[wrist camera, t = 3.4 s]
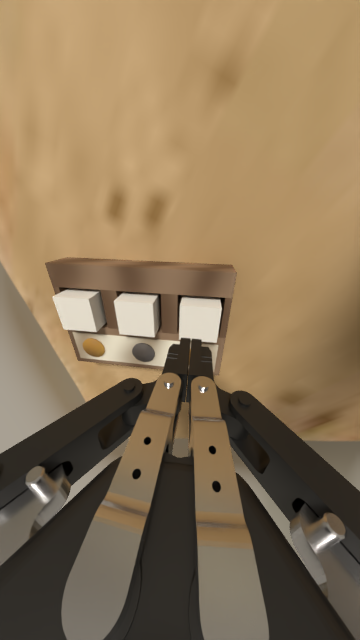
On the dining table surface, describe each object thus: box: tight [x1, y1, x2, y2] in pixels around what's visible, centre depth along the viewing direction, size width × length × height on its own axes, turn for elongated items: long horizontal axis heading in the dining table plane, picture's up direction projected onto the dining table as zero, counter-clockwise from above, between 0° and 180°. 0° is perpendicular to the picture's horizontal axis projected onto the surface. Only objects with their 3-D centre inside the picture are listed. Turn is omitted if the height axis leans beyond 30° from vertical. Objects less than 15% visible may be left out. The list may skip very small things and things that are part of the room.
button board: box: [45, 258, 237, 375], centre depth 20 cm, size 18×12×3 cm
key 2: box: [179, 295, 222, 343], centre depth 17 cm, size 4×4×2 cm
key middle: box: [114, 291, 160, 337], centre depth 18 cm, size 4×4×2 cm
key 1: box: [52, 288, 107, 332], centre depth 18 cm, size 4×4×2 cm
